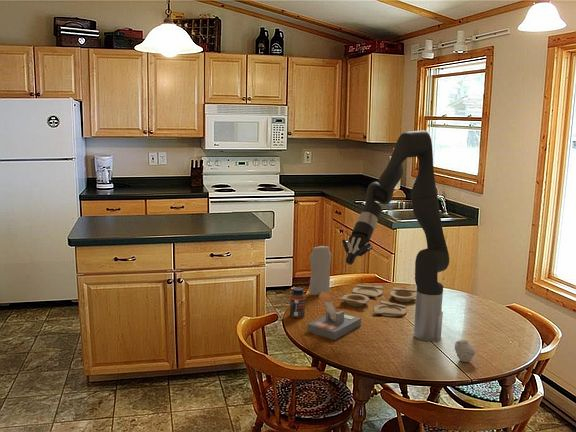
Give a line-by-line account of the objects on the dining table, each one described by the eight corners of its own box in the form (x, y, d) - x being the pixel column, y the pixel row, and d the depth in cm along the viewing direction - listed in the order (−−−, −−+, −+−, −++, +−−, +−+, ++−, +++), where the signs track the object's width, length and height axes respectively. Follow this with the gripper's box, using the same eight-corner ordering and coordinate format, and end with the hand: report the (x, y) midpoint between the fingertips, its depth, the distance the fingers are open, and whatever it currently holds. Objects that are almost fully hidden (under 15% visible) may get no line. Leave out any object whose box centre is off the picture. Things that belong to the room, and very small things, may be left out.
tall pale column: (328, 291, 252) (329, 244, 248) (332, 293, 249) (333, 246, 245) (306, 293, 248) (308, 245, 244) (310, 296, 245) (312, 247, 241)
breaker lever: (341, 318, 208) (331, 293, 200) (338, 323, 206) (327, 298, 198) (332, 315, 210) (322, 291, 202) (329, 320, 209) (318, 296, 201)
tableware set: (359, 286, 262) (359, 278, 261) (421, 296, 249) (422, 287, 248) (331, 308, 231) (332, 299, 230) (401, 321, 218) (402, 311, 217)
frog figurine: (462, 355, 188) (464, 335, 186) (478, 363, 182) (480, 343, 180) (449, 358, 185) (450, 338, 183) (465, 367, 179) (466, 346, 177)
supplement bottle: (298, 319, 216) (299, 292, 214) (286, 316, 220) (287, 288, 218) (307, 315, 221) (308, 288, 219) (295, 312, 225) (296, 285, 223)
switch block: (360, 325, 212) (361, 308, 210) (334, 340, 198) (335, 321, 196) (334, 318, 219) (335, 301, 218) (307, 331, 205) (307, 313, 204)
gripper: (347, 218, 218) (330, 255, 211) (376, 222, 210) (360, 260, 203) (353, 229, 224) (337, 266, 216) (383, 233, 216) (367, 271, 208)
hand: (348, 263), depth 210 cm, fingers closed
